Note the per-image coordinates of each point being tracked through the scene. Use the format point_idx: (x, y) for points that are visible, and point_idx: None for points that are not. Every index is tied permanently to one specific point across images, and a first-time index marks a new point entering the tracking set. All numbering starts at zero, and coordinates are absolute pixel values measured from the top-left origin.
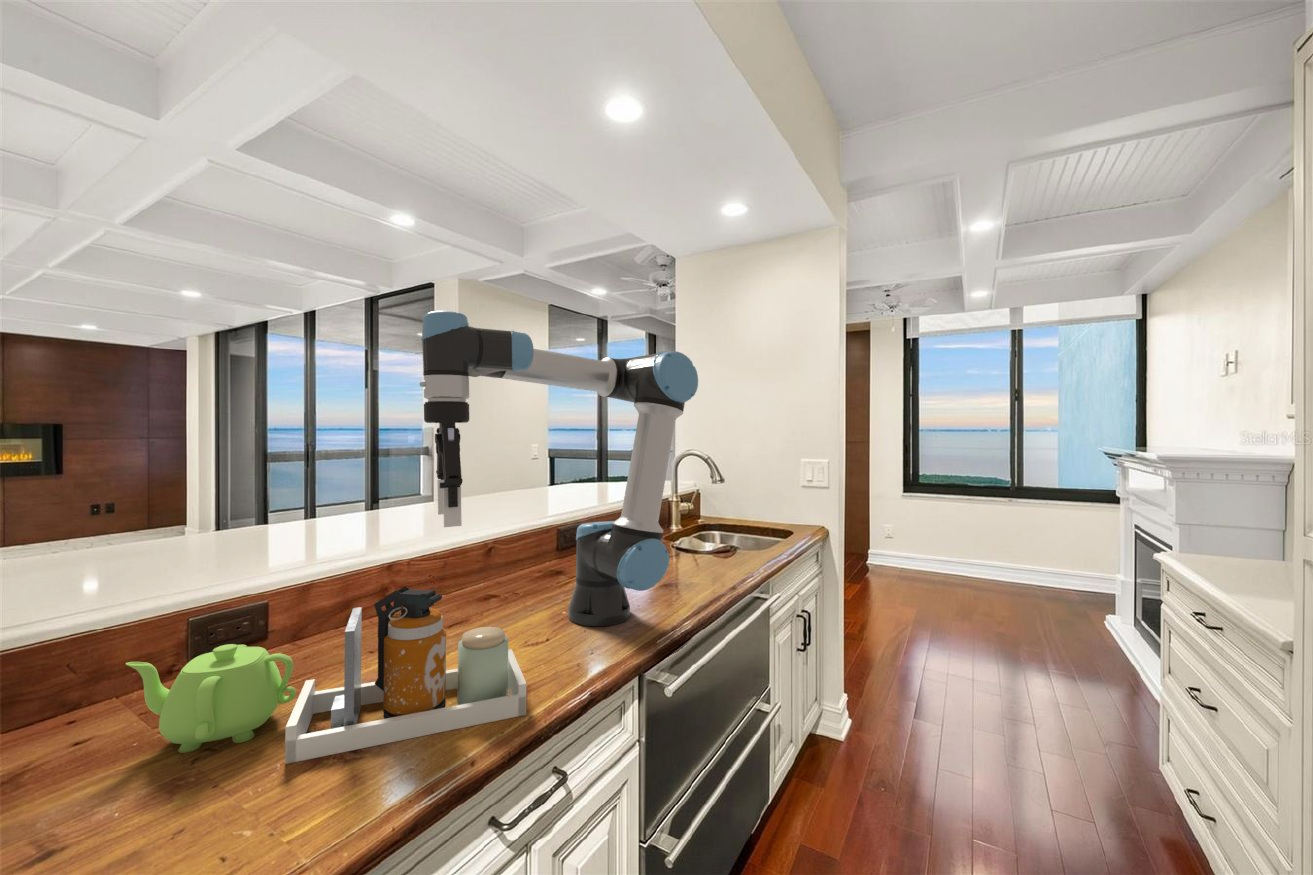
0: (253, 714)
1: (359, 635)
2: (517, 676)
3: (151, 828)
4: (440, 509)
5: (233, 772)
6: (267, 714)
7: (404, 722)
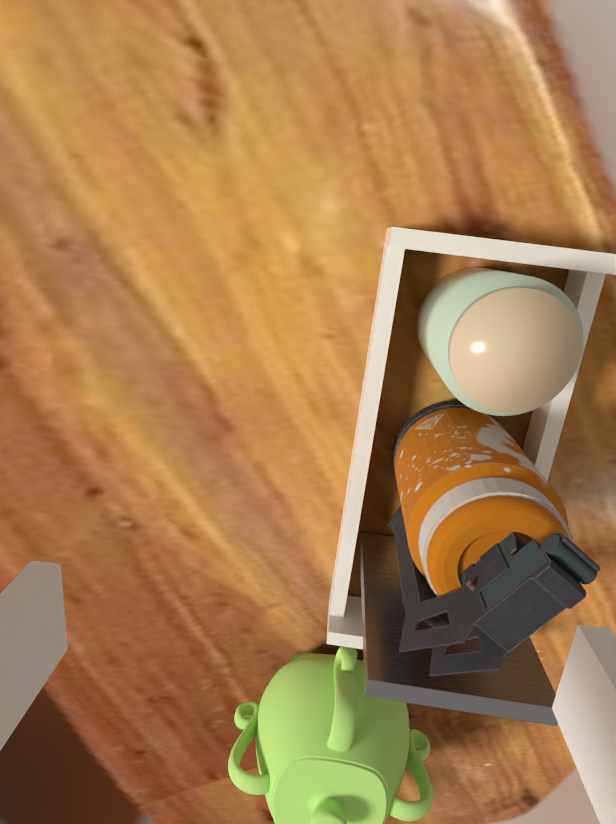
0: None
1: None
2: (572, 264)
3: (545, 735)
4: (46, 665)
5: None
6: None
7: None
